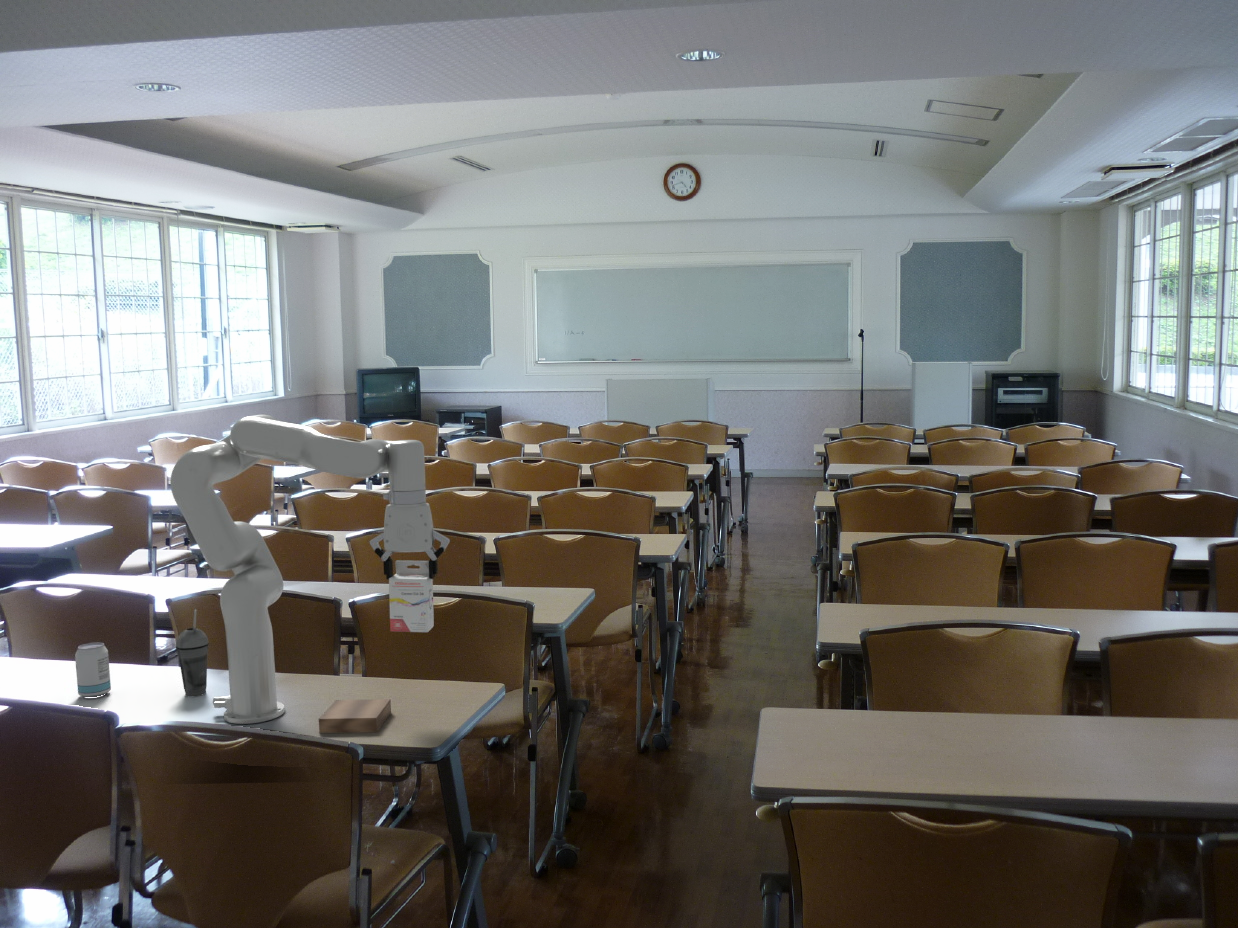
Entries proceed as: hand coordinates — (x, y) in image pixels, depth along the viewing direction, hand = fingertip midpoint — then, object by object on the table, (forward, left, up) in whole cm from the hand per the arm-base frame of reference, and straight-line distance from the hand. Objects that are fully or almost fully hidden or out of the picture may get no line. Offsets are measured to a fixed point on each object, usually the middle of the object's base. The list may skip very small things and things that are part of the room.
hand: (411, 577), depth 226 cm
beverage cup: (-56, +16, -30) cm, 65 cm away
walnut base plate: (-12, -6, -30) cm, 32 cm away
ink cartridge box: (0, 0, -12) cm, 12 cm away
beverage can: (-80, +16, -30) cm, 87 cm away
